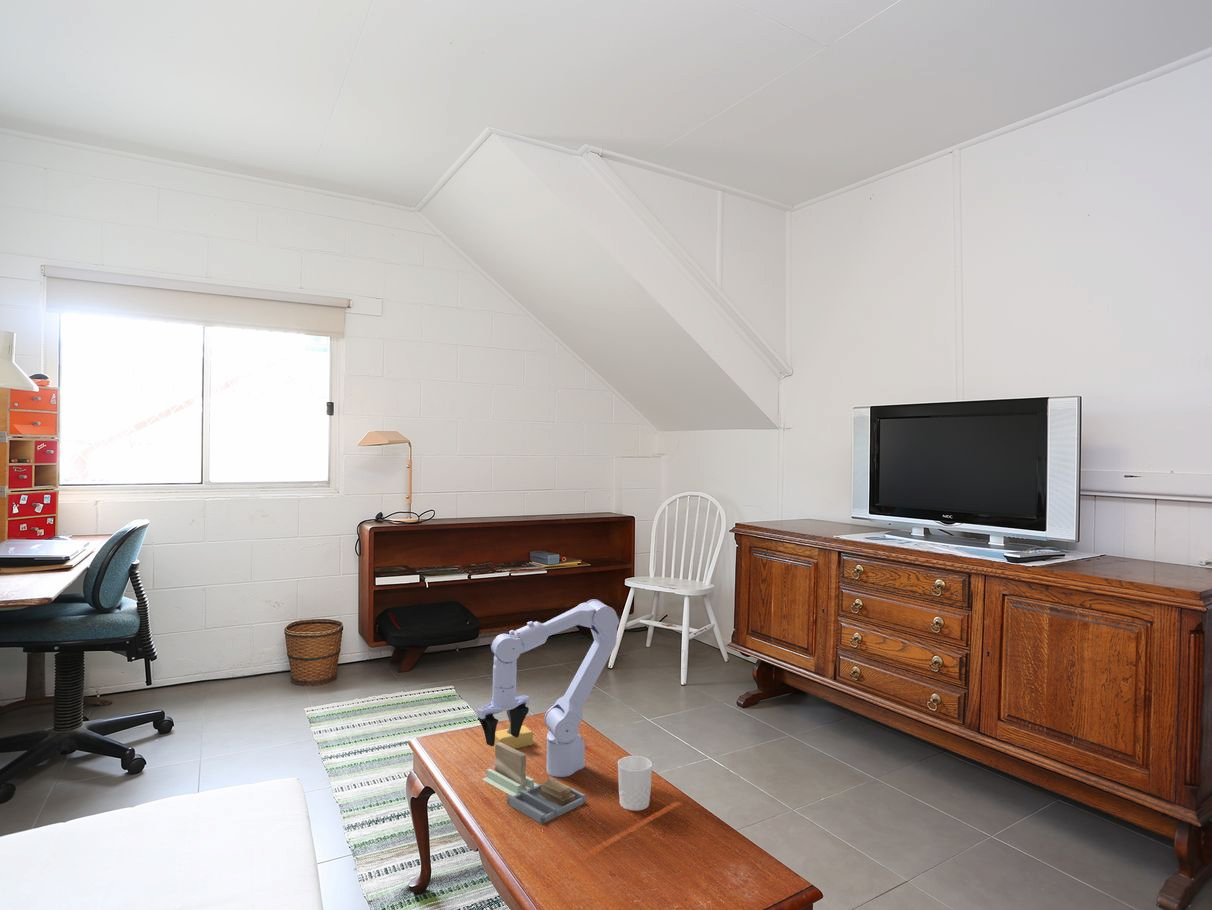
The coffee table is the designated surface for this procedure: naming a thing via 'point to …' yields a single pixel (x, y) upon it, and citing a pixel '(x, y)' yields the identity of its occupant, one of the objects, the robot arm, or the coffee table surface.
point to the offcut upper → (555, 788)
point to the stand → (507, 783)
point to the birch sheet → (510, 763)
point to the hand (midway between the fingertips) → (502, 740)
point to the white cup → (634, 782)
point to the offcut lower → (559, 801)
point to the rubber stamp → (511, 741)
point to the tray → (542, 804)
